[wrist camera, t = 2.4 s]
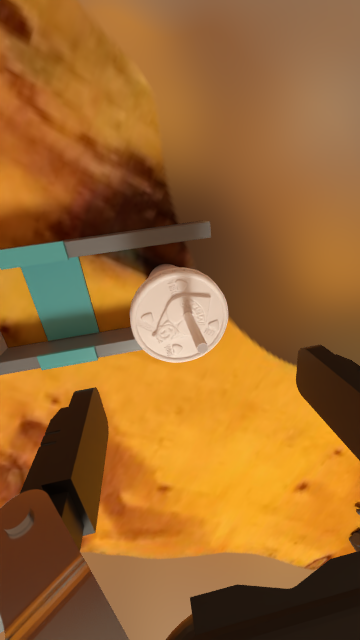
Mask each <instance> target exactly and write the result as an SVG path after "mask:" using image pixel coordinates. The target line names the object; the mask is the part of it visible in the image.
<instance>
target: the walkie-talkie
mask: <svg viewBox="0 0 360 640" xmlns="http://www.w3.org/2000/svg"><path fill="white" fill-rule="evenodd" d="M356 512H357V513H358V514H359V515H360V509H356ZM349 541H350V542H351V544H352V546H353V547H354V549H355V550H356V552H358V551H360V530H359V531H357V532H356V533H353V535H352V536H351V537H350V538H349Z"/></svg>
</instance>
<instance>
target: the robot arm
mask: <svg viewBox="0 0 360 640" xmlns="http://www.w3.org/2000/svg"><path fill="white" fill-rule="evenodd" d="M296 384H297V387H298V390H299V392H300V394H301V395H302V396H303V398H304V399H305V400H306V401H307V402H308V403H309V404H310V405H311V406H312V408H313V409H314V410H315V411H316V412H317V413H318V414H319V415H320V417H321V418H322V419H323V420H324V421H325V422H326V423H327V424H328V426H329V427H330V428H331V429H332V430H333V431H334V432H335V433H336V435H337V436H338V437H339V438H340V439H341V440H342V441H343V442H344V444H345V445H346V446H347V447H348V448H349V449H350V450H351V451H352V452H353V454H354V455H355V456H356V457H357V458H358V459H359V460H360V366H359V365H357V364H356V363H355V362H353V361H352V360H349V359H347V358H344V357H342V356H339V355H337V354H336V355H335V354H333V353H332V352H330V351H329V350H328V349H326V348H325V347H324V346H322V345H315V346H310V347H305V348H301V349H300V350H299V352H298V361H297V374H296ZM107 441H108V421H107V417H106V414H105V411H104V408H103V405H102V401H101V398H100V395H99V392H98V390H97V388H90V389H85V390H80V391H75V392H74V393H73V396H72V399H71V402H70V404H69V407H66V408H61V409H60V410H59V411H58V412H57V414H56V415H55V416H54V417H53V418H52V419H51V420H50V423H49V425H48V428H47V430H46V432H45V436H44V437H43V439H42V442H41V447H39V449H38V451H37V454H36V456H35V459H34V461H33V463H32V466H31V468H30V470H29V473H28V475H27V478H26V480H25V482H24V485H23V487H22V490H21V492H20V494H19V495H17V496H15V497H14V498H12V499H11V500H9V501H8V502H7V503H6V504H5V505H4V506H2V507H1V508H0V633H1V632H3V631H4V632H5V640H129V639H128V637H127V635H126V633H125V631H124V629H123V628H122V626H121V624H120V622H119V621H118V619H117V617H116V615H115V613H114V611H113V610H112V608H111V606H110V604H109V602H108V601H107V599H106V597H105V595H104V593H103V592H102V590H101V588H100V586H99V584H98V583H97V581H96V579H95V577H94V575H93V574H92V572H91V570H90V568H89V566H88V565H87V563H86V561H85V560H84V558H83V556H82V555H81V553H80V548H81V542H82V536H84V535H88V534H92V533H95V531H96V524H97V516H98V509H99V501H100V494H101V486H102V479H103V471H104V464H105V456H106V449H107ZM190 601H191V609H192V614H191V615H190V616H189V617H187V618H186V619H185V620H184V621H182V622H181V623H180V624H179V625H178V626H177V627H176V628H175V629H174V630H173V631H172V632H171V634H170V635H169V636H168V638H167V639H166V640H360V551H358V552H354V553H351V554H347V555H343V556H340V557H336V558H333V559H330V560H329V561H327V562H326V563H325V564H324V565H322V566H321V567H320V568H318V569H317V570H316V571H315V572H313V573H312V574H311V575H310V576H308V577H307V578H306V579H305V580H303V581H302V582H301V583H299V584H298V585H297V586H295V587H294V588H291V589H281V588H270V587H259V586H247V585H234V586H230V587H227V588H223V589H220V590H216V591H212V592H209V593H205V594H201V595H198V596H194V597H191V598H190Z"/></svg>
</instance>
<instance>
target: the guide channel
mask: <svg viewBox="0 0 360 640" xmlns="http://www.w3.org/2000/svg"><path fill="white" fill-rule="evenodd" d="M209 237H211V230H210V222H208V221H196V222H189V223H182V224H175V225H168V226H161V227H154V228H147V229H139V230H132V231H125V232H118V233H111V234H104V235H97V236H89V237H82V238H75V239H68V240H61V241H54V242H47V243H39V244H32V245H25V246H18V247H11V248H4V249H0V268H1V270H2V269H9V268H16V267H21V269H22V272H23V275H24V277H25V280H26V283H27V285H28V288H29V291H30V293H31V296H32V299H33V301H34V304H35V307H36V309H37V312H38V315H39V318H40V320H41V323H42V326H43V328H44V331H45V334H46V336H47V339H48V341H46V342H40V343H34V344H28V345H22V346H17V347H11V348H8V347H7V345H6V343H5V340H4V338H3V336H2V334H1V332H0V375H3V374H9V373H14V372H20V371H26V370H31V369H37V368H41V369H42V370H46V369H51V368H57V367H63V366H68V365H74V364H79V363H85V362H91V361H96V360H98V358H99V357H104V356H110V355H115V354H121V353H127V352H132V351H138V350H143V349H142V348H141V347H140V345H139V344H138V343H137V341H136V339H135V337H134V335H133V332H132V329H131V327H128V328H122V329H116V330H111V331H105V332H99V329H98V325H97V321H96V318H95V314H94V311H93V307H92V303H91V300H90V296H89V293H88V289H87V286H86V282H85V278H84V275H83V271H82V268H81V264H80V260H79V256H86V255H93V254H99V253H106V252H113V251H120V250H127V249H134V248H141V247H147V246H154V245H161V244H168V243H175V242H182V241H189V240H195V239H202V238H209ZM98 332H99V333H98ZM92 333H93V334H92ZM86 334H87V335H86ZM80 335H81V336H80ZM63 338H64V339H63ZM57 339H58V340H57ZM51 340H52V341H51Z"/></svg>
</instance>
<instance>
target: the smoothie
mask: <svg viewBox="0 0 360 640" xmlns="http://www.w3.org/2000/svg"><path fill="white" fill-rule="evenodd" d="M227 321H228V307H227V303H226V300H225V297H224V295H223V293H222V292H221V290H220V289H219V287H218V286H217V284H216V283H215V282H214V281H213V280H212V279H211V278H210V277H209V276H207V275H205V274H203V273H201V272H199V271H198V270H194V269H189V268H185V267H181V268H179V267H177V266H175V265H172V264H162V265H159V266H157V267H155V268H154V269H153V270H152V271H151V273H150V275H149V277H148V279H146V281H145V282H144V283H143V284H142V285H141V286H140V287H139V288H138V290H137V292H136V294H135V296H134V297H133V299H132V303H131V308H130V322H131V329H132V332H133V335H134V337H135V339H136V341H137V343H138V344H139V345H140V347H141V348H142V349H143V350H144V351H146V352H147V353H148V354H150V355H151V356H153V357H155V358H157V359H160V360H163V361H167V362H186V361H191V360H194V359H197V358H199V357H201V356H203V355H204V354H206V353H207V352H209V351H210V350H211V349H212V348H213V347H214V346H215V345H216V344H217V343H218V342H219V340H220V339H221V337H222V336H223V334H224V332H225V329H226V326H227Z"/></svg>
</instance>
